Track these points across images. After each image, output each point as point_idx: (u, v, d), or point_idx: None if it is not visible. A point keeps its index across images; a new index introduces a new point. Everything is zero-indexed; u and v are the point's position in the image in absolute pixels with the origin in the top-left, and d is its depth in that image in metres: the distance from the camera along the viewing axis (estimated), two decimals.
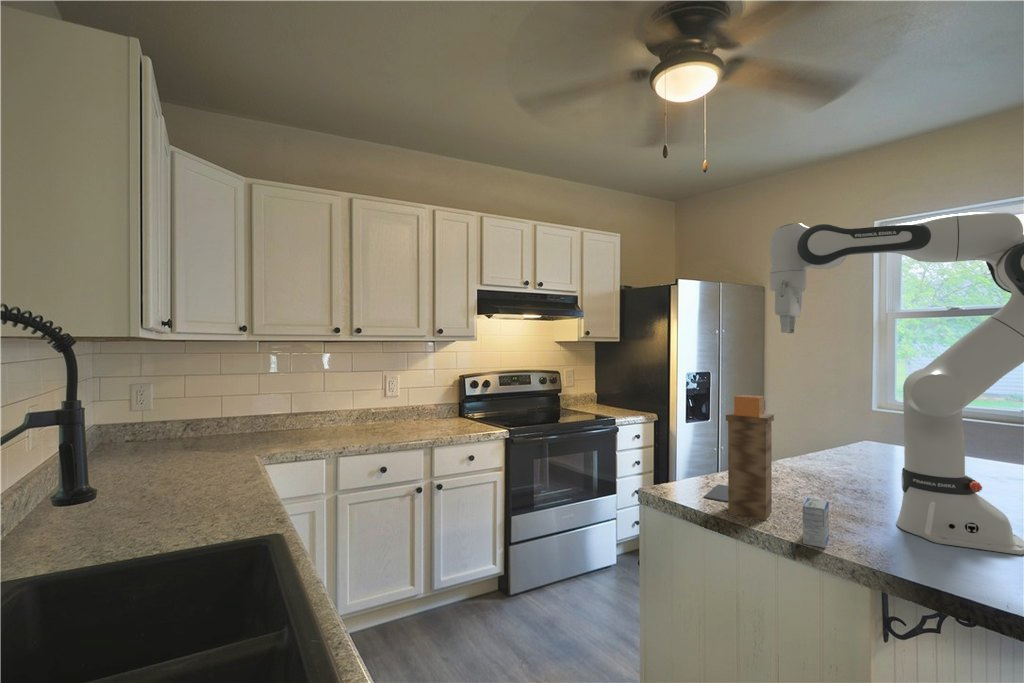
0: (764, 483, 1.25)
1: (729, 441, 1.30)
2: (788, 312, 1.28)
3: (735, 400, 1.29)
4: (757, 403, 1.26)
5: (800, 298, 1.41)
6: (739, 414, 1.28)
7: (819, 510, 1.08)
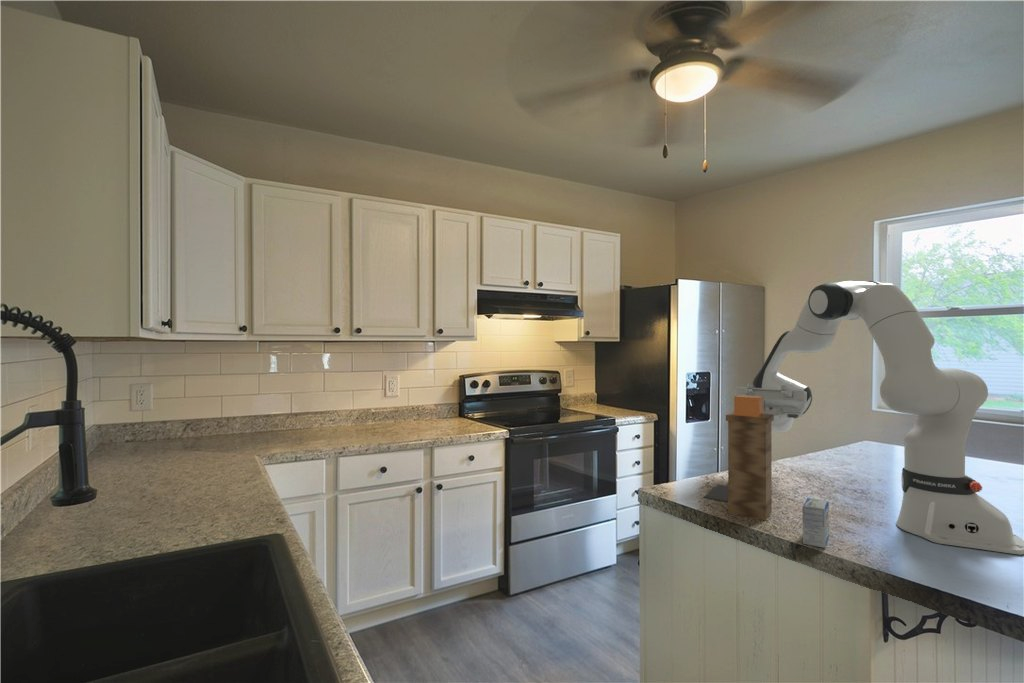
0: (764, 483, 1.25)
1: (729, 441, 1.30)
2: None
3: (735, 400, 1.29)
4: (757, 403, 1.26)
5: None
6: (739, 414, 1.28)
7: (819, 510, 1.08)
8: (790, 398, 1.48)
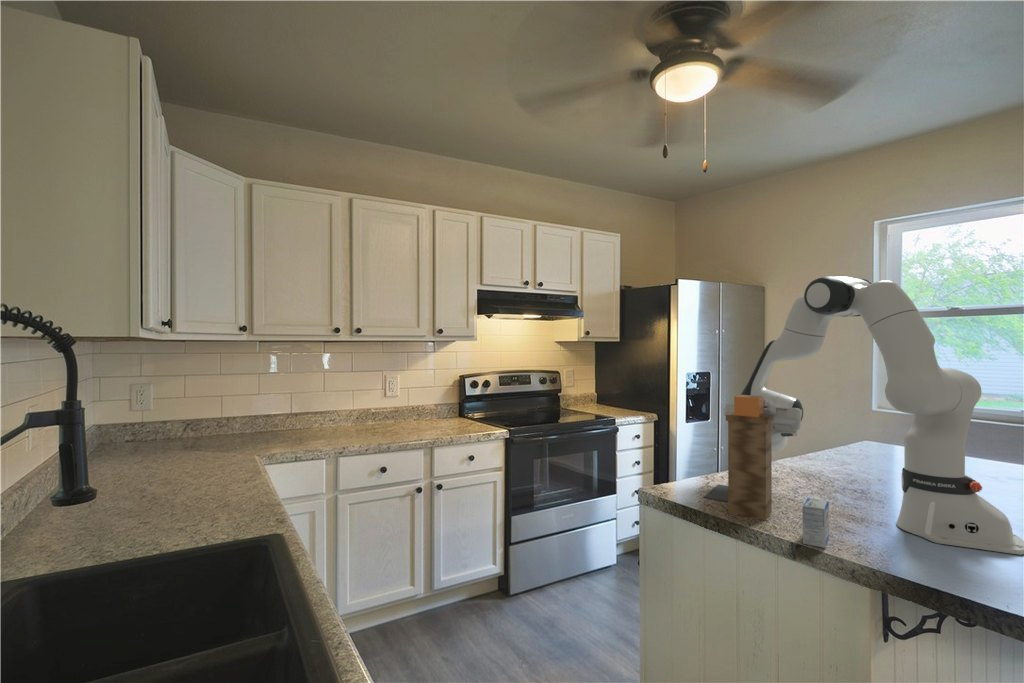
0: (764, 483, 1.25)
1: (729, 441, 1.30)
2: (726, 404, 1.49)
3: (735, 400, 1.29)
4: (757, 403, 1.26)
5: None
6: (739, 414, 1.28)
7: (819, 510, 1.08)
8: (783, 416, 1.38)
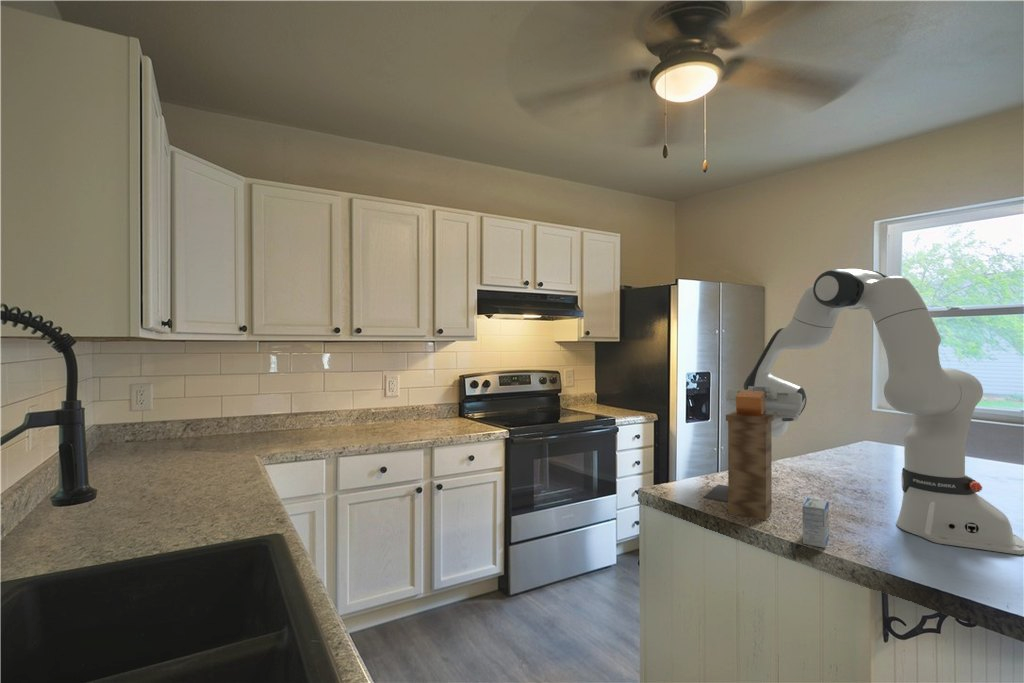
0: (764, 483, 1.25)
1: (729, 441, 1.30)
2: (728, 390, 1.51)
3: (737, 400, 1.31)
4: (758, 402, 1.28)
5: None
6: (741, 413, 1.31)
7: (819, 510, 1.08)
8: (784, 401, 1.40)
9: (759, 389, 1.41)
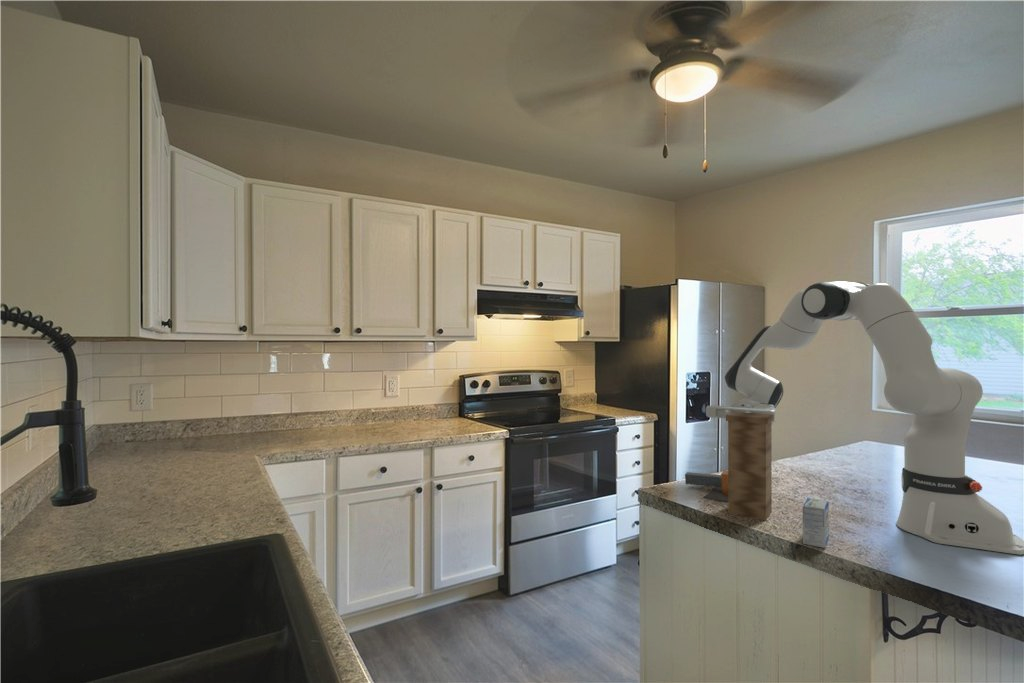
0: (764, 483, 1.25)
1: (729, 441, 1.30)
2: (707, 407, 1.60)
3: None
4: None
5: (769, 408, 1.54)
6: None
7: (819, 510, 1.08)
8: None
9: (692, 479, 1.51)
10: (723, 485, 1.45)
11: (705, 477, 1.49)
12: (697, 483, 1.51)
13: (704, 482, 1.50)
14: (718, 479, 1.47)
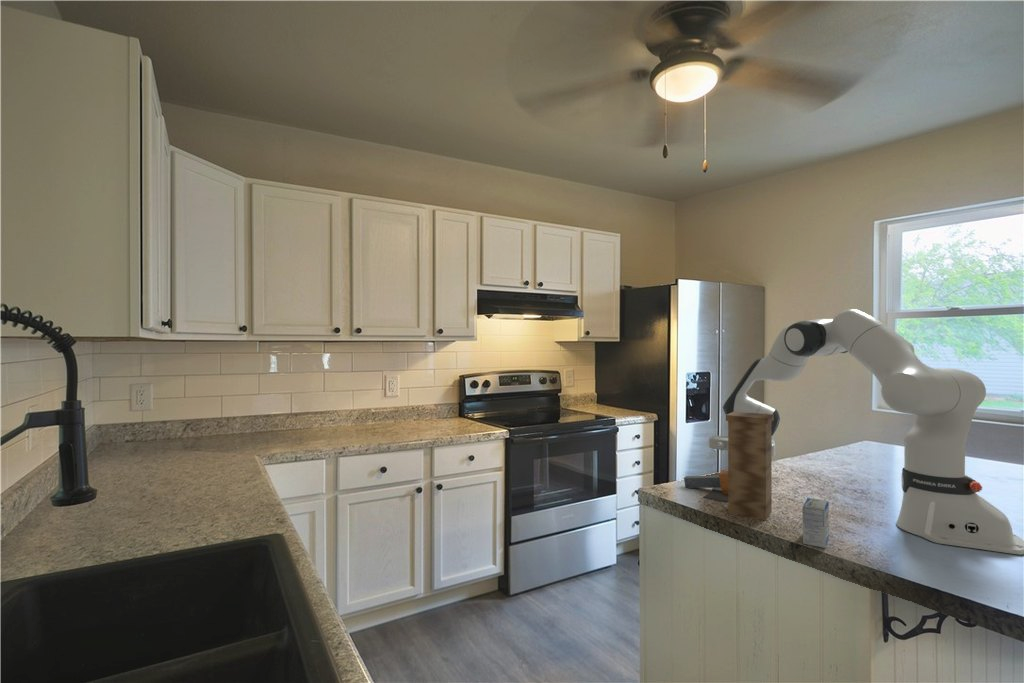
0: (764, 483, 1.25)
1: (729, 441, 1.30)
2: (709, 438, 1.68)
3: None
4: None
5: None
6: None
7: (819, 510, 1.08)
8: None
9: (692, 483, 1.52)
10: (722, 485, 1.45)
11: (704, 479, 1.50)
12: (697, 486, 1.51)
13: (703, 484, 1.50)
14: (716, 480, 1.48)
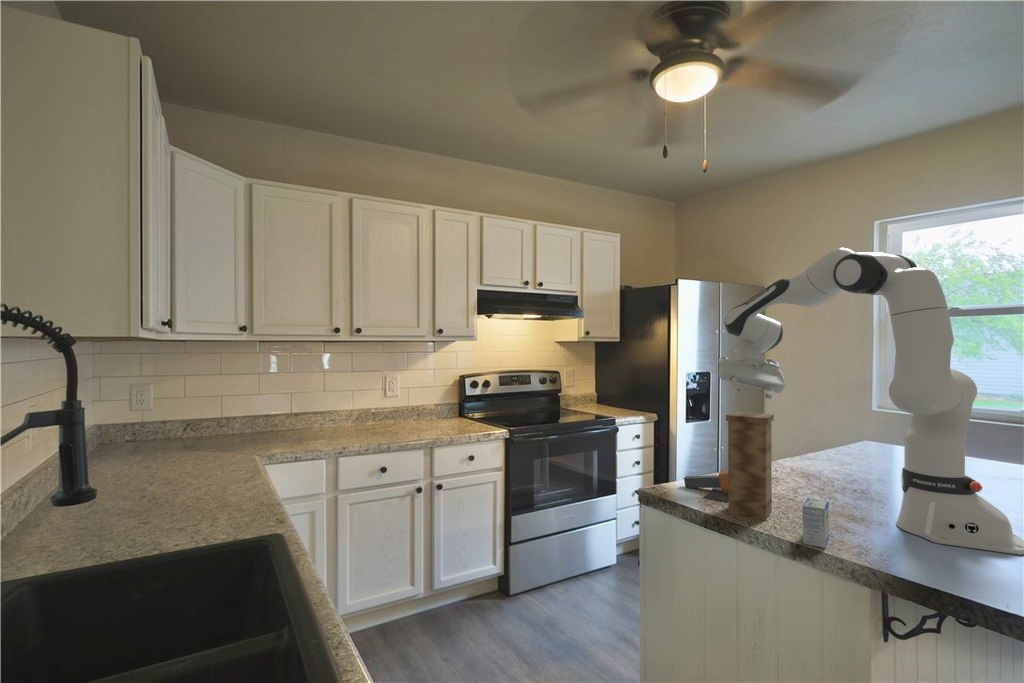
0: (764, 483, 1.25)
1: (729, 441, 1.30)
2: (723, 372, 1.59)
3: None
4: None
5: (777, 372, 1.60)
6: None
7: (819, 510, 1.08)
8: None
9: (692, 483, 1.52)
10: (722, 485, 1.45)
11: (704, 479, 1.50)
12: (697, 486, 1.51)
13: (703, 484, 1.50)
14: (716, 480, 1.48)
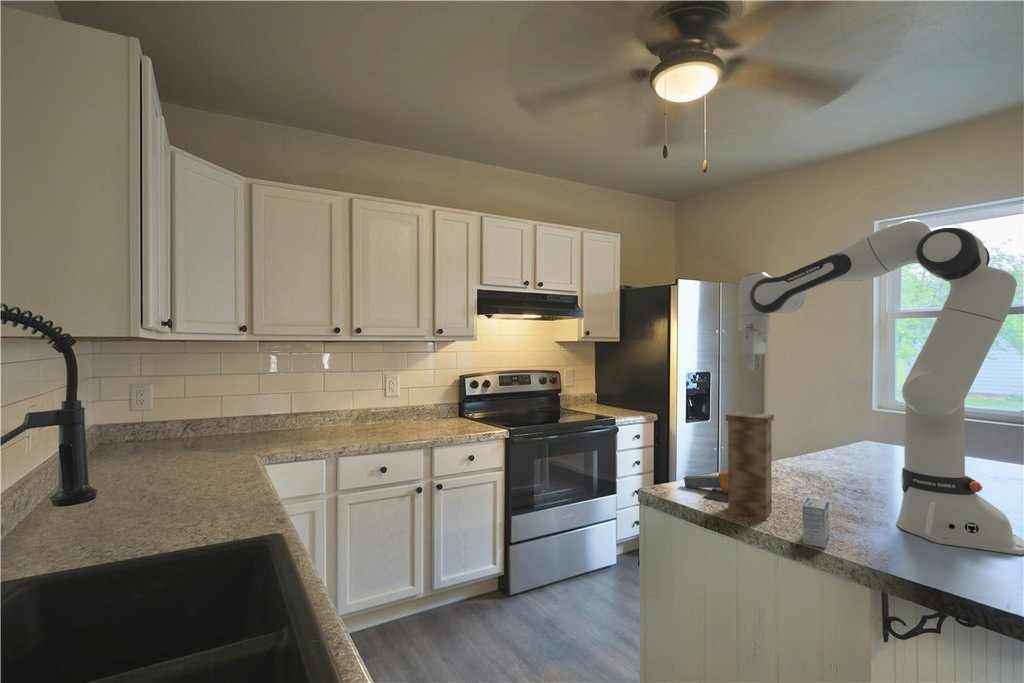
0: (764, 483, 1.25)
1: (729, 441, 1.30)
2: (752, 353, 1.46)
3: None
4: None
5: (766, 337, 1.59)
6: None
7: (819, 510, 1.08)
8: None
9: (692, 483, 1.52)
10: (722, 485, 1.45)
11: (704, 479, 1.50)
12: (697, 486, 1.51)
13: (703, 484, 1.50)
14: (716, 480, 1.48)
